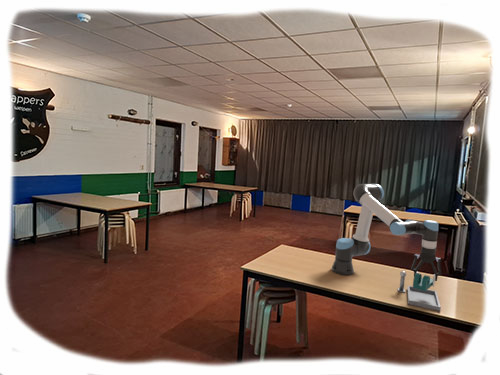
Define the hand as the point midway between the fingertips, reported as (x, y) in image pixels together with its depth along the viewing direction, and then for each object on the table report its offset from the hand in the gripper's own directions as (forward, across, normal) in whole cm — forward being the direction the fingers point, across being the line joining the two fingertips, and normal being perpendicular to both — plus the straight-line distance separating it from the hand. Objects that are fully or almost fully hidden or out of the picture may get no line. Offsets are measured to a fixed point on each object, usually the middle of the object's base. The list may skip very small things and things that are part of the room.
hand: (424, 284), depth 194 cm
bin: (+10, 0, 0) cm, 10 cm away
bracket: (+1, 0, +1) cm, 1 cm away
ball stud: (+10, +12, -7) cm, 17 cm away
